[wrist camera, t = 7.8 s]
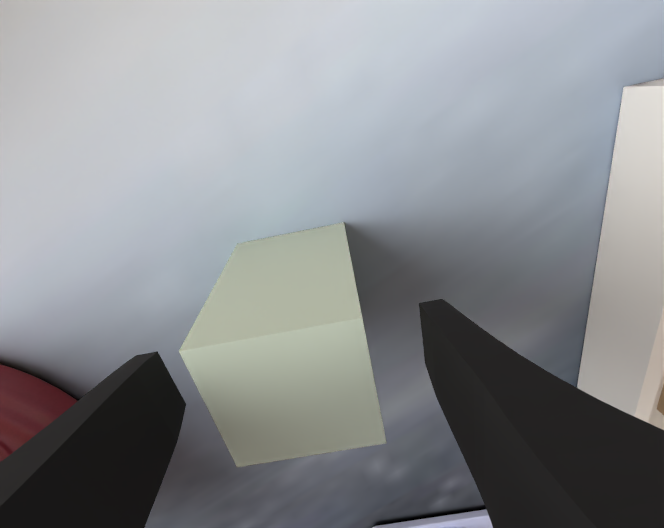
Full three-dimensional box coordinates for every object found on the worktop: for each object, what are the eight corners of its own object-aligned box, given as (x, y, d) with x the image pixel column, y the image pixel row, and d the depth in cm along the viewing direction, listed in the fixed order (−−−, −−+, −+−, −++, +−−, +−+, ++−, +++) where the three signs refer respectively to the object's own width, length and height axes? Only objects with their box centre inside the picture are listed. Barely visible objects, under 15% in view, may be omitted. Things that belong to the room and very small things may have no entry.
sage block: (361, 312, 14) (386, 443, 9) (267, 329, 15) (237, 467, 9) (343, 222, 13) (362, 317, 7) (237, 243, 13) (178, 351, 8)
